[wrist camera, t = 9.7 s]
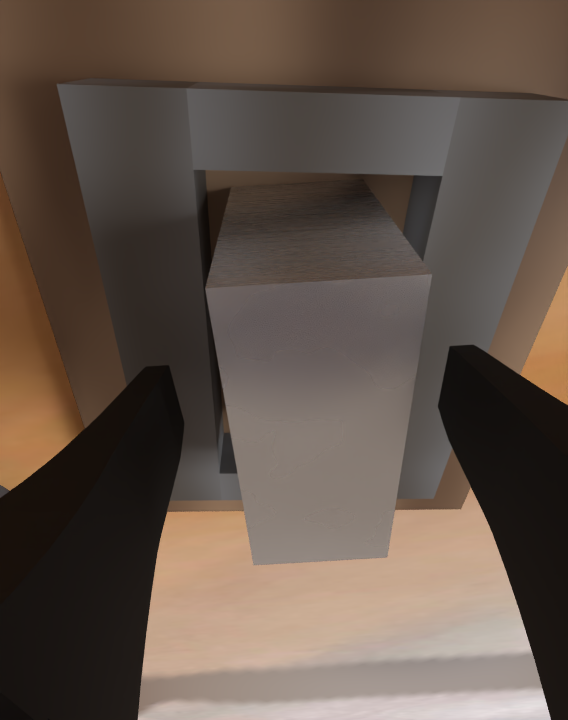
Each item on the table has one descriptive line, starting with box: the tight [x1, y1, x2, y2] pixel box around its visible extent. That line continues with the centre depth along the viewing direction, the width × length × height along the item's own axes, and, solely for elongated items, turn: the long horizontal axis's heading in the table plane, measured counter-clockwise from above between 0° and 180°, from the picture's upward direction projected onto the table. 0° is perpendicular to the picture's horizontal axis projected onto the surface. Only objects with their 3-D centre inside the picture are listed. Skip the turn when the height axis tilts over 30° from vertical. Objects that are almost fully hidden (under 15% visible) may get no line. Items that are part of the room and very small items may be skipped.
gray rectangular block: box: [205, 179, 432, 565], centre depth 11 cm, size 4×8×6 cm, turn 3°
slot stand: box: [0, 0, 568, 512], centre depth 14 cm, size 16×20×4 cm
